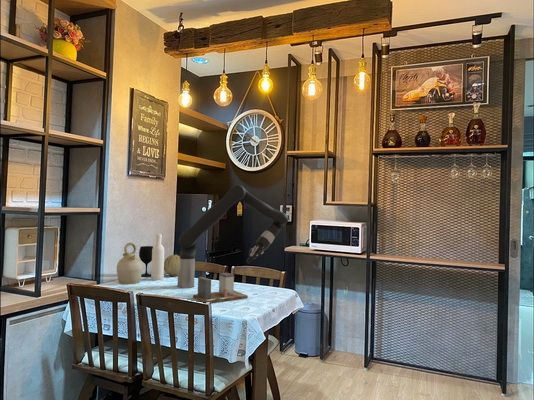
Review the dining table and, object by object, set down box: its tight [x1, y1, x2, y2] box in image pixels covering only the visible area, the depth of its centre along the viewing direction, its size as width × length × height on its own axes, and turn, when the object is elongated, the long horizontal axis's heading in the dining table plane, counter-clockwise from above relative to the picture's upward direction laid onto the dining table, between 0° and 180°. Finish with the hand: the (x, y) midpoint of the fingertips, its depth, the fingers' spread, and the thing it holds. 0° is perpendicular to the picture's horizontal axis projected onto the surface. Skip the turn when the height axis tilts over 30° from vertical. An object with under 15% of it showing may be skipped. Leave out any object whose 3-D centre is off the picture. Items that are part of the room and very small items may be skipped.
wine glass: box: [138, 245, 154, 278], centre depth 274 cm, size 10×10×20 cm
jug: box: [116, 242, 144, 285], centre depth 250 cm, size 15×16×25 cm
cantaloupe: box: [164, 253, 180, 277], centre depth 277 cm, size 15×15×15 cm
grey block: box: [218, 272, 235, 296], centre depth 218 cm, size 5×10×11 cm, turn 37°
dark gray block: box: [197, 276, 212, 299], centre depth 210 cm, size 3×9×10 cm, turn 37°
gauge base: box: [192, 289, 249, 304], centre depth 216 cm, size 25×16×2 cm, turn 127°
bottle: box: [150, 233, 165, 281], centre depth 263 cm, size 8×8×30 cm
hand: (247, 262), depth 227 cm, fingers closed
